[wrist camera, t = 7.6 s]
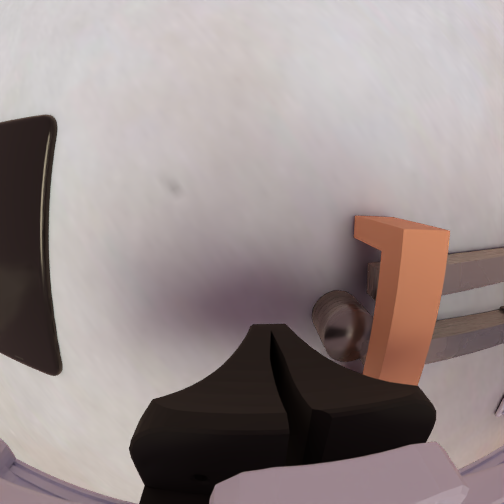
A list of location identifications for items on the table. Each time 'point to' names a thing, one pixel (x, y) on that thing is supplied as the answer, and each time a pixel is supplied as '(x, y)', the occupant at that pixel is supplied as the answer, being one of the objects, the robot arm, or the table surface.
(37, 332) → the smartphone
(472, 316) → the base
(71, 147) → the table surface
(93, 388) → the table surface
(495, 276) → the tong arm
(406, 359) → the orange bridge block
